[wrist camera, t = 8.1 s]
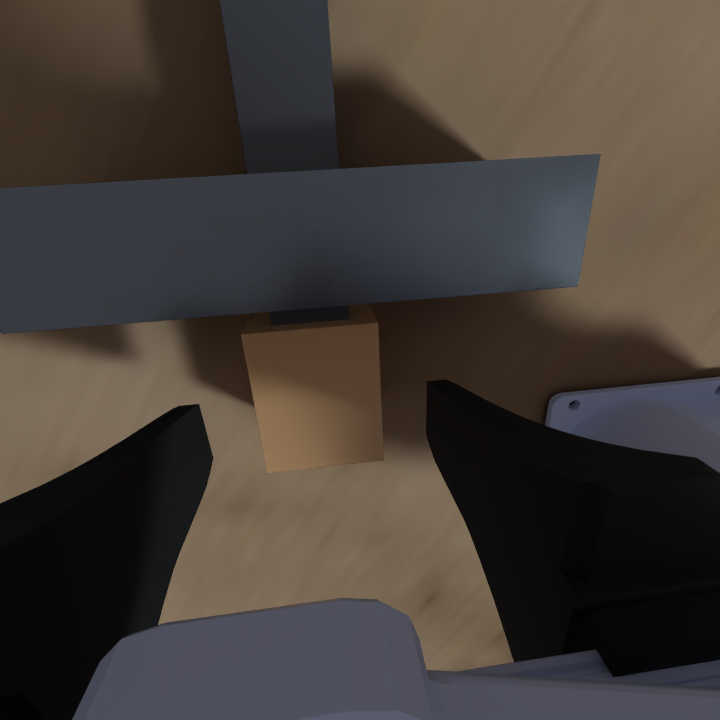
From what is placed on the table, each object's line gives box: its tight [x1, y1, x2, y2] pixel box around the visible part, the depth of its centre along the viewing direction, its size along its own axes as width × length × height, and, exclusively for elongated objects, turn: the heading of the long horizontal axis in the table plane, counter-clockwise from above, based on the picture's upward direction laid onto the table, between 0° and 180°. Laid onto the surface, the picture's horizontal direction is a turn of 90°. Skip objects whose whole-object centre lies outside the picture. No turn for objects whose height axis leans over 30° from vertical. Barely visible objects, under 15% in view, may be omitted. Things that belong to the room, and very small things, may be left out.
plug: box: [220, 0, 384, 473], centre depth 11 cm, size 15×4×4 cm, turn 3°
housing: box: [0, 154, 601, 334], centre depth 11 cm, size 14×3×5 cm, turn 93°
